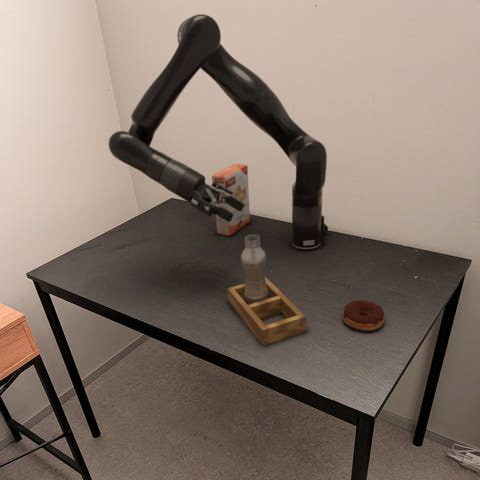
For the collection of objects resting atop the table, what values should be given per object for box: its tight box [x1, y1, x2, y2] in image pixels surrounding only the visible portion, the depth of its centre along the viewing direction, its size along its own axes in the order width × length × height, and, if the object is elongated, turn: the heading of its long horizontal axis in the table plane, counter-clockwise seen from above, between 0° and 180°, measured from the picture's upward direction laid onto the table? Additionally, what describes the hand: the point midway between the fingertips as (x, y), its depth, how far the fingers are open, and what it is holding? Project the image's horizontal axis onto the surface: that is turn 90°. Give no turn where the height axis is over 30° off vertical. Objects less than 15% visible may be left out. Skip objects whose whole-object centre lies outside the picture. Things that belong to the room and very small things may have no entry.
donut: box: [342, 300, 385, 332], centre depth 111 cm, size 10×10×4 cm
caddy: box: [227, 276, 307, 346], centre depth 115 cm, size 11×21×4 cm, turn 24°
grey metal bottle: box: [240, 234, 269, 305], centre depth 115 cm, size 6×7×20 cm
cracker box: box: [211, 163, 251, 237], centre depth 157 cm, size 14×6×21 cm, turn 148°
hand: (237, 213), depth 114 cm, fingers open, 8 cm apart
